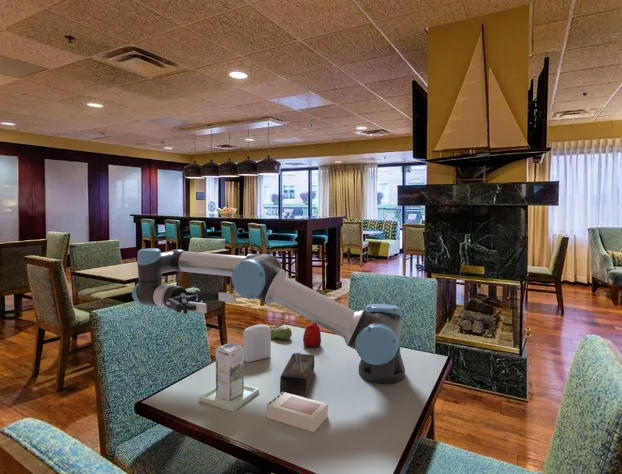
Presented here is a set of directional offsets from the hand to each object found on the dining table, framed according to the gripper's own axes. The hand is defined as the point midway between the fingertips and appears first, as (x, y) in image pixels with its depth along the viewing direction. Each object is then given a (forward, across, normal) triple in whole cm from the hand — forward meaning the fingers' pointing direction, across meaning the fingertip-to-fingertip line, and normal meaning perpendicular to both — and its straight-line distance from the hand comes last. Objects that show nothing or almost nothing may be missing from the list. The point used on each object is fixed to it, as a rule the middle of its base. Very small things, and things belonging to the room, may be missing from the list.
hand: (221, 303), depth 120 cm
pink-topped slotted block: (+30, +7, -26) cm, 40 cm away
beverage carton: (+21, -10, -26) cm, 35 cm away
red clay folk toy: (+10, -41, -26) cm, 50 cm away
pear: (-5, -42, -26) cm, 49 cm away
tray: (+8, +7, -25) cm, 27 cm away
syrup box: (+8, +7, -25) cm, 27 cm away
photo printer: (-1, -20, -25) cm, 32 cm away
